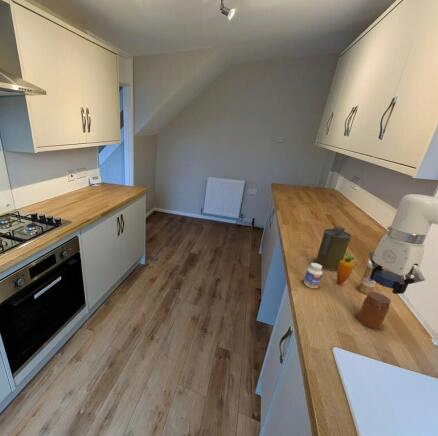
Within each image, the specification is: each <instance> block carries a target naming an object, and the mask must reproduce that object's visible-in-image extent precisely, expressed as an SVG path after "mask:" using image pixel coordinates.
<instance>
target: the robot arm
mask: <svg viewBox="0 0 438 436" xmlns="http://www.w3.org/2000/svg"><path fill="white" fill-rule="evenodd" d="M432 224H434V225H438V196H437V197H434V196H431V195H425V194H417V193H415V194H414V193H409V194H405V195H404V196H402V198H401V199H400V201H399V204H398V207H397V209H396V212H395V214H394V217H393V220H392V223H391V225H389V226H388V227H386V229H387V230H388V233H385V234H384V235H383V237H381V239H380V241H379V242H378V244H377V245H376V247H375V249H374V251H370V252H368V256H369V258H370V260H371V263H372V268H373V270H372V273H371V276H370V279H371V280H373V276H374V273H375V271H376V270H386V271H390V272H393V273H395V274H397V275H398V278H399V282H396V284H395V286H394V288H393V289H392V291H391V293H393V294H394V295H402V294H404V293H406V291H407V288H408V286H409V285H412V284H416V283H420V282H424V281H425V280H426V278H425V277H424V275H423V273H422V272H421V270H420V267H421V265H422V261H423V258H424V253H425V244H424V242H425V240H426V238H427V235H428V233H429V231H430V228H431V226H432ZM382 268H383V269H382ZM412 276H413V277H412Z"/></svg>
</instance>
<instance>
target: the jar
mask: <svg viewBox="0 0 438 436" xmlns="http://www.w3.org/2000/svg"><path fill="white" fill-rule="evenodd" d="M366 294H367V293H366ZM391 303H392V301H391V299H390V298H389V297H388V296H386V295H384V294H382V293H379V292H376V291H372V292H369V293H368V294H367V295H366V297H364V299H363V302H362V305H361V307H360V309H359V312H358V314H357V320H358V321H359V322H360V323H361V324H362V325H364V326H366V327H368V328H371V329H376V330H377V329H381V328H382V326H383V324H384V321H385V319H386V317H387V315H388V312H389V310H390V305H391Z"/></svg>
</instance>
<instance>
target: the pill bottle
mask: <svg viewBox="0 0 438 436" xmlns="http://www.w3.org/2000/svg"><path fill="white" fill-rule="evenodd" d="M322 270H323V268H322V266H321V265H320V264H317V263H315V262H311V263H310V265H309V267H307V269H306V273H305V276H304V279H303V284H304V285H305V286H306V287H308V288H311V289H317V288H319V286H320V283H321V280H322V276H323V271H322Z"/></svg>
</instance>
